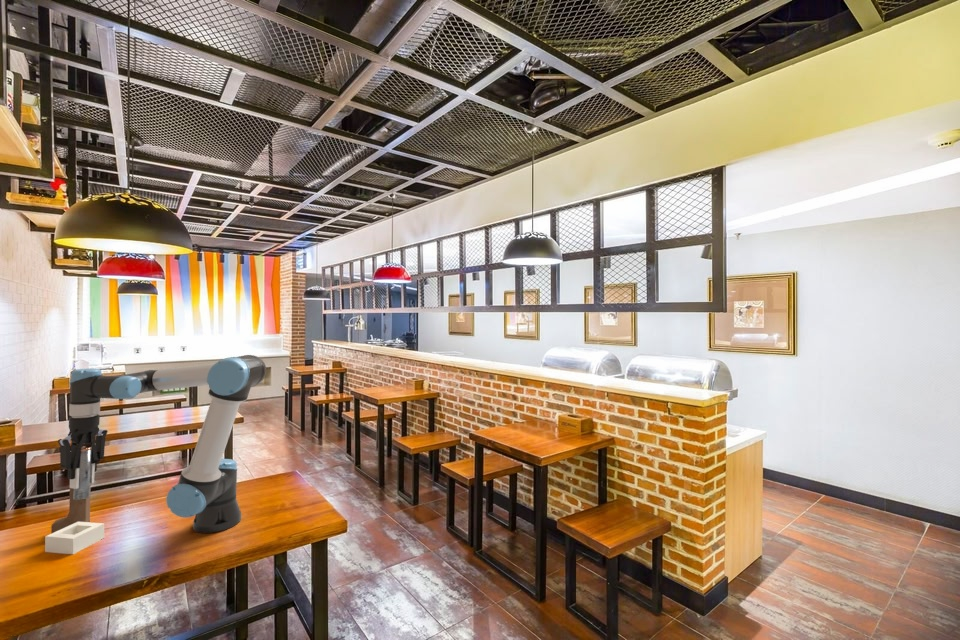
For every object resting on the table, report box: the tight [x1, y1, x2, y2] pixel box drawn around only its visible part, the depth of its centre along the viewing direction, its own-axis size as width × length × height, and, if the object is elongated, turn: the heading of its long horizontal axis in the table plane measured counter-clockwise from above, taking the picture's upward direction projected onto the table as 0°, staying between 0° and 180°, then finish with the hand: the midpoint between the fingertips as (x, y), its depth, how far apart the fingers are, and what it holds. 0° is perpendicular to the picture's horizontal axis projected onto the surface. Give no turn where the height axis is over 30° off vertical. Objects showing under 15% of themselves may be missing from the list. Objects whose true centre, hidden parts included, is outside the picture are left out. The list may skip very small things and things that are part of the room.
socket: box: [44, 521, 105, 555], centre depth 139 cm, size 10×10×5 cm
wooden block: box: [50, 483, 92, 534], centre depth 147 cm, size 9×4×18 cm, turn 118°
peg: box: [73, 445, 92, 500], centre depth 141 cm, size 4×4×17 cm
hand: (82, 485), depth 141 cm, fingers closed on peg, 4 cm apart
